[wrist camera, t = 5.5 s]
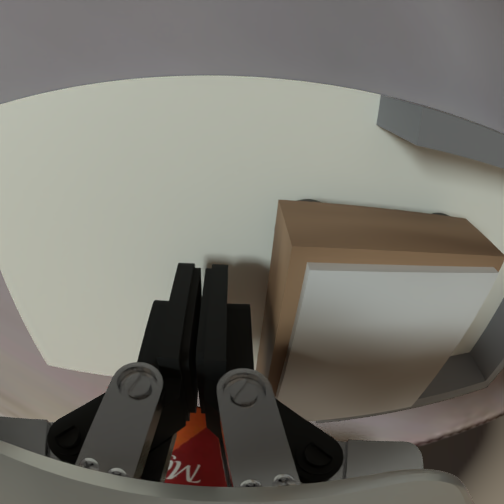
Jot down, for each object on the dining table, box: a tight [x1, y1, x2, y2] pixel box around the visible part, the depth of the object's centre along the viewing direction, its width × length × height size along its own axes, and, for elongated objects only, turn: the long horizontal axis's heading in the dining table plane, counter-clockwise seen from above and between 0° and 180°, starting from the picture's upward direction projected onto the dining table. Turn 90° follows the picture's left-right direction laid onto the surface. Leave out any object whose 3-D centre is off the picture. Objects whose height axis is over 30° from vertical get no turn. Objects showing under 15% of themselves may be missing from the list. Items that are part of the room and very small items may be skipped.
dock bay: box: [0, 75, 504, 423], centre depth 11 cm, size 14×27×3 cm, turn 86°
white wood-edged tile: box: [256, 199, 504, 421], centre depth 10 cm, size 8×7×4 cm
